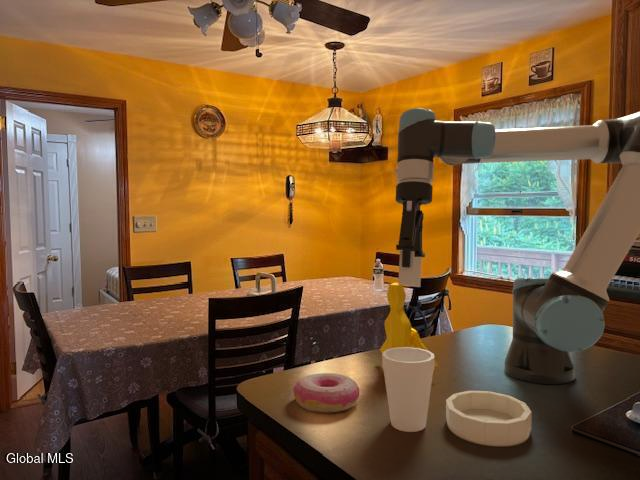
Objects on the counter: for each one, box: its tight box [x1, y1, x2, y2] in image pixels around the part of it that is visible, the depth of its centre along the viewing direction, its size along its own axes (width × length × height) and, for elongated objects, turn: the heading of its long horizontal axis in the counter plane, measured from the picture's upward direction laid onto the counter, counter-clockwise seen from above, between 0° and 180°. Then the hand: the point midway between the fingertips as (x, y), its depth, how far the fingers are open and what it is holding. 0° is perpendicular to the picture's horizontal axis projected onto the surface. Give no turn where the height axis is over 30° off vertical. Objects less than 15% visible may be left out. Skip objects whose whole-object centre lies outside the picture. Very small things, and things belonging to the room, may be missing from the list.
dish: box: [445, 390, 533, 448], centre depth 85 cm, size 14×14×4 cm
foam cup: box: [381, 347, 435, 433], centre depth 87 cm, size 10×9×13 cm
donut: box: [293, 372, 360, 414], centre depth 97 cm, size 14×13×5 cm
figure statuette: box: [379, 282, 438, 368], centre depth 114 cm, size 18×8×22 cm, turn 39°
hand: (410, 286), depth 97 cm, fingers open, 13 cm apart
